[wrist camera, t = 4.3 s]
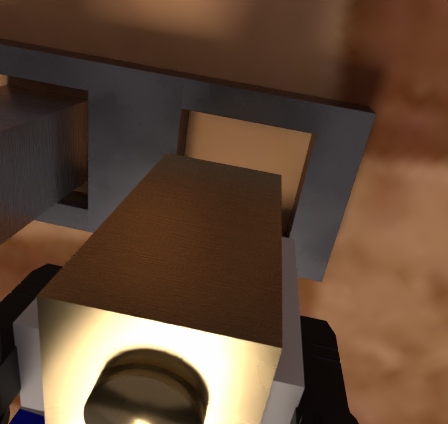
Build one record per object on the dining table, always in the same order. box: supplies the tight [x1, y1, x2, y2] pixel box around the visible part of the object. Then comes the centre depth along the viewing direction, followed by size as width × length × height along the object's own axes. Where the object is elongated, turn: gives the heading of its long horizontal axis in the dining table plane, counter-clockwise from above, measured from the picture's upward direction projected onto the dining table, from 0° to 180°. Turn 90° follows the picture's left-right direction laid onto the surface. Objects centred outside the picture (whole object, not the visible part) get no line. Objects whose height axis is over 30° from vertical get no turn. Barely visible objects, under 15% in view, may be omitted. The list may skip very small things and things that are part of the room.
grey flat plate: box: [0, 39, 376, 282], centre depth 23 cm, size 24×10×2 cm, turn 81°
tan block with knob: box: [37, 153, 282, 424], centre depth 13 cm, size 5×5×10 cm
